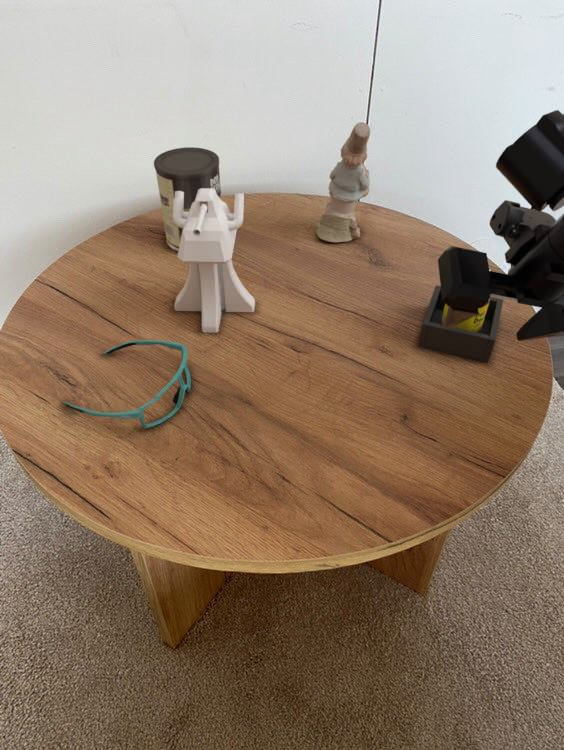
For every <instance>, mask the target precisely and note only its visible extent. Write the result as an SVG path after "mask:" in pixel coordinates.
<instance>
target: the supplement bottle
mask: <svg viewBox="0 0 564 750" xmlns="http://www.w3.org/2000/svg"><path fill="white" fill-rule="evenodd" d="M489 271H491V269H490V268H489ZM491 297H492V296H490V298H489V301H488V303H487V304H486V305H485V306H483V307H482V308H478V312H479V313H478V314H477V315H475V316H473V317H472V318H470V319H468V320H466V321H464V322H462V323H460V324H458V325H457V326H454V328H459V329H463V330H468V331H472V332H476V333H480V331H481V328H482V324H483V321H484V318H485V315H486V312H487V308H488V305H489V302H490V299H491ZM448 308H449V306H448V305H447V304H446V303H445V307H444V311H443V315H442V319H441V325H445V318H446V315H447V311H448Z"/></svg>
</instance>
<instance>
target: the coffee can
mask: <svg viewBox="0 0 564 750" xmlns="http://www.w3.org/2000/svg"><path fill="white" fill-rule="evenodd" d="M153 167H154V169H155V173H156V180H157V186H158V193H159V200H160V207H161V213H162V219H163V225H164V232H165V241H166V244H167V246H168V247H170V248H171V249H172V250H173V251H175V252H177V253H178V252H179V246H180V240H181V235H182V231H183V228H180V227H178V226H177V225H176V224H175V223H174V221H173V199H174V198H175V191H182V192H184V206H183V211H185V212H189V210H190V208H191V205H192V203H193V202H194V201H195V199H196V196H197V192H198V190H199V189H201V188H211V189H214V190H215V191H216V193H217V195H218V197H219V198H220V199H221V200H222V189H221V177H220V175H221V173H220V157H219V155H218V154H217V153H216V152H214V151H213V150H209V149H207V148H202V147H193V146H191V147H190V146H189V147H186V146H185V147H178V148H173V149H169V150H166V151H164V152H162V153H160V154H159V155H157V156H156V157H155V159H154V160H153Z"/></svg>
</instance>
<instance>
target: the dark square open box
mask: <svg viewBox="0 0 564 750" xmlns="http://www.w3.org/2000/svg"><path fill="white" fill-rule="evenodd" d="M503 303H504V298H500V297H495V296H491V299H490V302H489V305H488V308H487V312H486V315H485V318H484V321H483V324H482V328H481V331H480V333H476V332H472V331H468V330H463V329H459V328H454V327H452V328H446V326H445V325H441V319H442V315H443V311H444V307H445V302H444V301H442V292H441V285H438V284H436V285H435V286H434V289H433V292H432V295H431V298H430V301H429V304H428V307H427V310H426V312H425V315H424V318H423V320H422V321H423V322H422V324H421V330H420V333H419V339H418V344H417V346H418V347H422V348H426V349H429V350H434V351H437V352H441V353H446V354H449V355H454V356H459V357H462V358H467V359H471V360H475V361H479V362H483V363H489V361H490V359H491V355H492V353H493V349H494V346H495V343H496V340H497V334H498V330H499V326H500V325H499V324H500V319H501V315H502V308H503Z"/></svg>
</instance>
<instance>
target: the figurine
mask: <svg viewBox="0 0 564 750" xmlns="http://www.w3.org/2000/svg"><path fill="white" fill-rule="evenodd" d="M370 136H371V127H370V126H369V124H368V123H365V122H357V123H356V124H355V125H354V126H353V128H352V130H351V133H350V135H349V136H348V137H347V139H346V141H345V142H344V143H343V145H342V147H341V148H340V158H341V161H338V162H337V163H336V165H335V166H334V167H333V169H332V170H331V171H330V174H329V179H330V182H329V184H328V195H329V196H330V199H329V201H328V202H327V204H326V207H325V210H324V213H322V214H321V218H319V219H318V220H317V221H316V222H315V224H314V228H315V233H316V236H317V237H318V238H319V239H321V240H323V241H325V242H330V243H345V242H351V241H352V240H354V239H359V238H360V237H361V227H360V226H358V223H357V221H356V220H357V217H356V213H355V206H356V202H357V201H359V200H361V199H363V198H365V197H366V196H368V195H369V193H370V184H371V183H370V181H371V179H370V170H369V169H367V167H366V165H365V164H364V162H365V161H366V160H367V159H368V153H367V152H368V142H369V139H370Z"/></svg>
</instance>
